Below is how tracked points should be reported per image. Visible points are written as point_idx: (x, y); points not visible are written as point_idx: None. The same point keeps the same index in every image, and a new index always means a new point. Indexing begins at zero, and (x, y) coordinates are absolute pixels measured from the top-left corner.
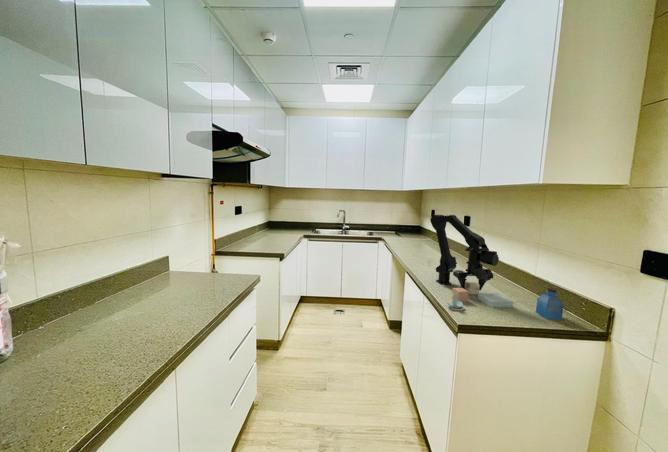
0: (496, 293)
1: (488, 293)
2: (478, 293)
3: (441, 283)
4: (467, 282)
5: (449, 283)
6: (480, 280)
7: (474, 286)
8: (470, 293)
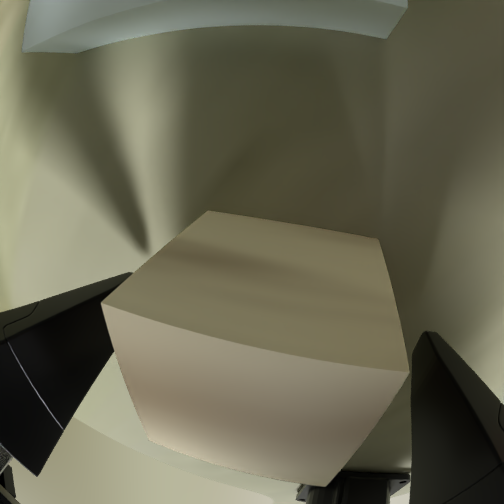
0: (31, 42)
1: (138, 3)
2: (400, 4)
3: (408, 480)
4: (311, 466)
5: (338, 477)
6: (38, 399)
7: (276, 313)
8: (366, 243)
